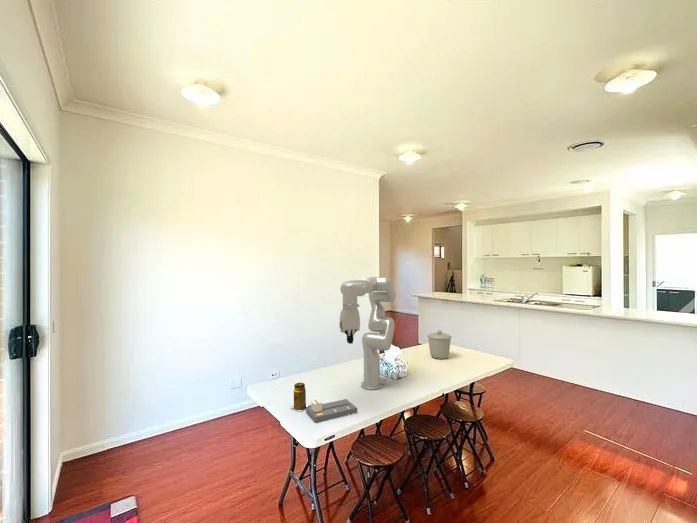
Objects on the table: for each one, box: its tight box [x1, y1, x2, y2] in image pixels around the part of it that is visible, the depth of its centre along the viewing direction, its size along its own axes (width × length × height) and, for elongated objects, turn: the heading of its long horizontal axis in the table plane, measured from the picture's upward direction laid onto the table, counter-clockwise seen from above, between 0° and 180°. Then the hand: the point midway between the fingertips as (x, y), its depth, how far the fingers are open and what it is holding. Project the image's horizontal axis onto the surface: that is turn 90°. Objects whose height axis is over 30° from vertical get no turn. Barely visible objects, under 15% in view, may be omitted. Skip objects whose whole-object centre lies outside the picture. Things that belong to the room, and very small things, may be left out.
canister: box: [427, 329, 452, 360], centre depth 260 cm, size 18×18×21 cm
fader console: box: [305, 398, 358, 424], centre depth 164 cm, size 22×12×3 cm, turn 118°
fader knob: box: [310, 399, 323, 413], centre depth 161 cm, size 4×4×4 cm
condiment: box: [293, 382, 311, 412], centre depth 171 cm, size 7×8×12 cm
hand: (350, 343), depth 173 cm, fingers closed
